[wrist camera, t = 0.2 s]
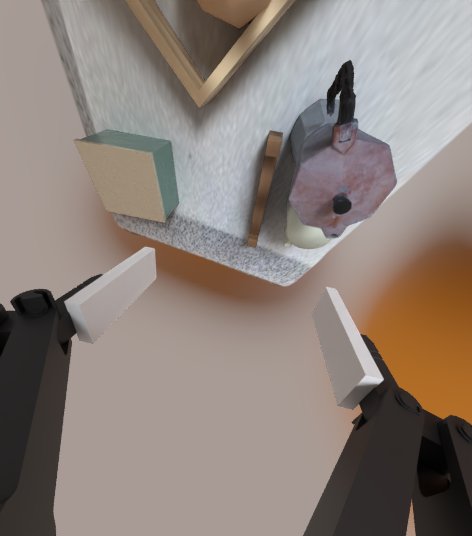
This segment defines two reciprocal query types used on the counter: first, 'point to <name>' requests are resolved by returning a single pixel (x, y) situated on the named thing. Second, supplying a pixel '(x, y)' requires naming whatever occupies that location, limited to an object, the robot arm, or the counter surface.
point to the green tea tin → (131, 173)
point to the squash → (234, 10)
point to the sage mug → (302, 233)
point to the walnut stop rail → (265, 184)
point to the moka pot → (337, 163)
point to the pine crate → (181, 61)
